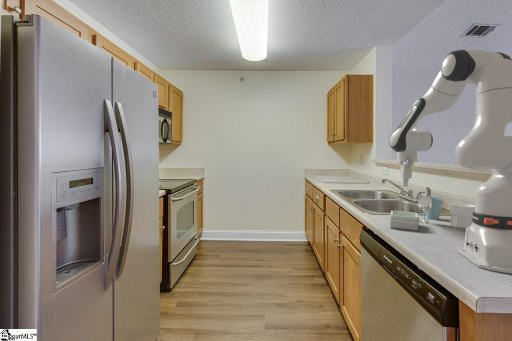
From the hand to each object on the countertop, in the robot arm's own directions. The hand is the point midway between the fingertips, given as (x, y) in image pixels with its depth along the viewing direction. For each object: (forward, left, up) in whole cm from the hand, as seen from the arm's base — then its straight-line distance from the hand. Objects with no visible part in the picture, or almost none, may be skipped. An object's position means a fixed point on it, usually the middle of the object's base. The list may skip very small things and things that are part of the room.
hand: (405, 186), depth 149 cm
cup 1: (+12, -14, -17) cm, 25 cm away
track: (-9, +1, -17) cm, 19 cm away
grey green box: (-13, +1, -17) cm, 21 cm away
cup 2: (-1, -24, -17) cm, 29 cm away
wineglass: (0, -9, -17) cm, 19 cm away
